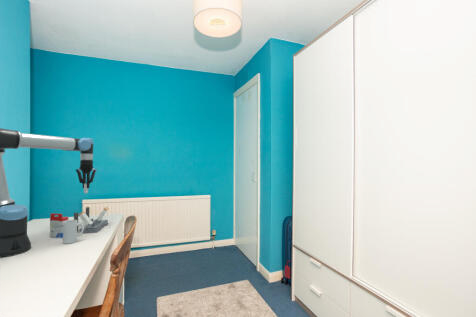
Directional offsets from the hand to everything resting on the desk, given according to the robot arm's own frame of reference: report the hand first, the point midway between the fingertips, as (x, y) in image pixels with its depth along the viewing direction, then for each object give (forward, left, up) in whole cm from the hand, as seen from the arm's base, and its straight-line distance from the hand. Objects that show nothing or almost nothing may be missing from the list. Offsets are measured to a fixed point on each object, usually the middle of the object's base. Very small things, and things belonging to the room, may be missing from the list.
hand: (85, 192), depth 161 cm
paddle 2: (0, -8, -20) cm, 22 cm away
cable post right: (+14, +2, -24) cm, 28 cm away
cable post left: (-11, +2, -24) cm, 27 cm away
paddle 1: (-11, -8, -21) cm, 25 cm away
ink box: (-19, +7, -25) cm, 32 cm away
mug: (-31, -6, -25) cm, 40 cm away
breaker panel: (-5, -8, -24) cm, 26 cm away
